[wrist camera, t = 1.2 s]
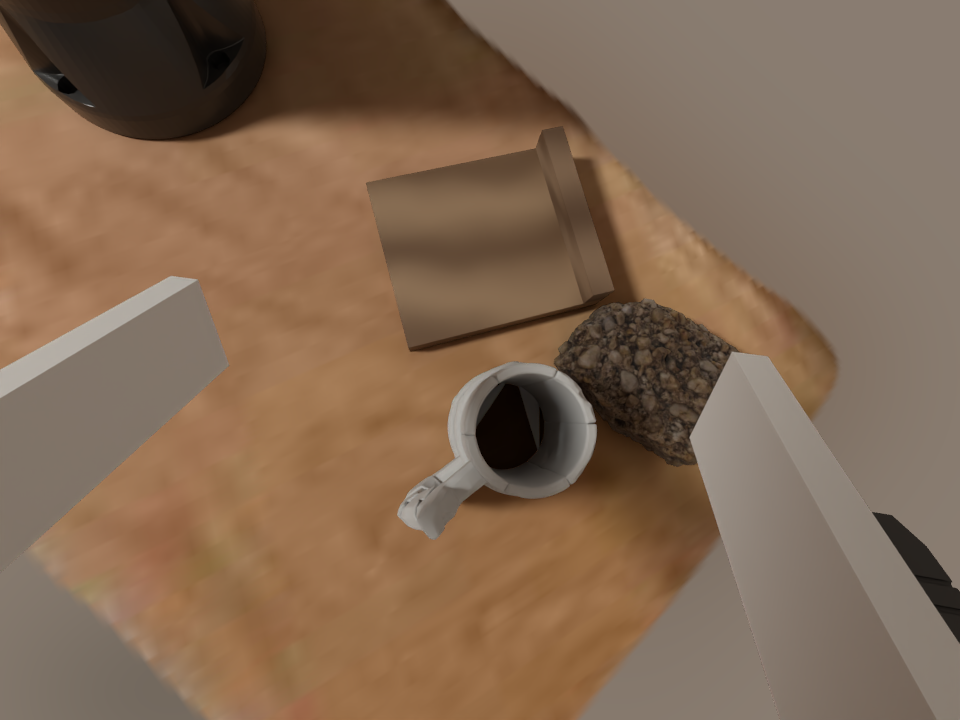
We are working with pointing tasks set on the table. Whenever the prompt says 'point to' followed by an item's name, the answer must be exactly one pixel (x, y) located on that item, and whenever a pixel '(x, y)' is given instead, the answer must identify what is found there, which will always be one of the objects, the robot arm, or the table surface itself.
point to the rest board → (489, 243)
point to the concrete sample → (646, 373)
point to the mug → (538, 478)
